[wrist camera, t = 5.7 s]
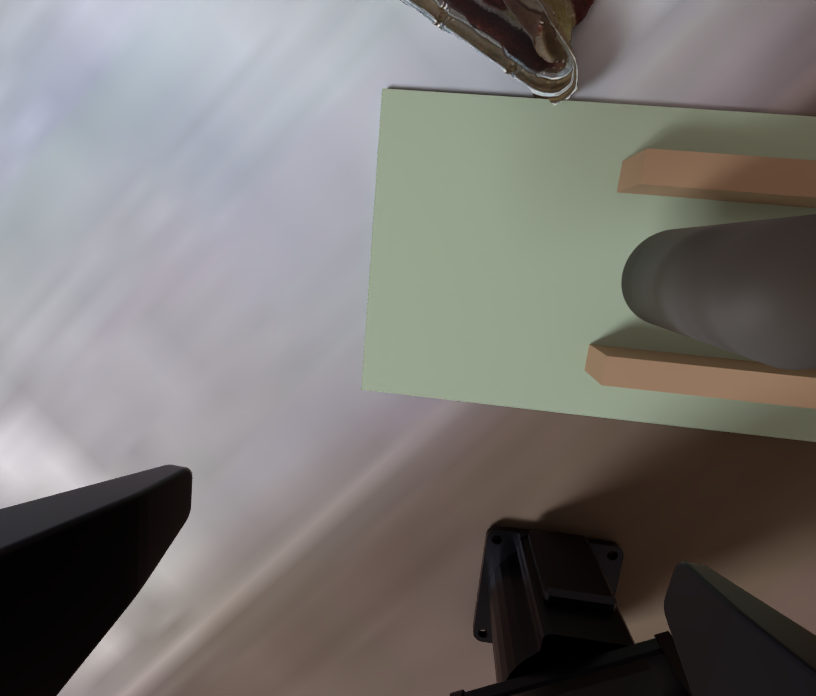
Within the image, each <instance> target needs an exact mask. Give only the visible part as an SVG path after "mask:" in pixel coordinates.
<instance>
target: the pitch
mask: <svg viewBox="0 0 816 696" xmlns="http://www.w3.org/2000/svg"><path fill="white" fill-rule="evenodd" d="M811 214H816V117H814V116H799V115H784V114H768V113H753V112H737V111H722V110H707V109H691V108H676V107H660V106H645V105H629V104H614V103H599V102H583V101H568V100H562V103H561V102H559V103H557V104H556V105H553V104H552V103H551V102H550V101H549V99H537V98H522V97H506V96H491V95H475V94H460V93H445V92H429V91H414V90H398V89H383V88H382V101H381V115H380V130H379V144H378V158H377V173H376V187H375V202H374V216H373V231H372V245H371V260H370V274H369V289H368V303H367V317H366V332H365V346H364V361H363V375H362V390H368V391H377V392H386V393H394V394H403V395H412V396H420V397H429V398H438V399H446V400H455V401H464V402H472V403H481V404H490V405H498V406H507V407H516V408H525V409H533V410H542V411H551V412H559V413H568V414H577V415H585V416H594V417H603V418H611V419H620V420H629V421H637V422H646V423H655V424H663V425H672V426H681V427H689V428H698V429H707V430H716V431H724V432H733V433H742V434H750V435H759V436H768V437H776V438H785V439H794V440H802V441H811V442H816V368H812V369H804V370H787V369H781V368H776V367H772V366H769V365H766V364H763V363H760V362H758V361H755V360H752V359H749V358H746V357H743V356H741V355H738V354H735V353H732V352H729V351H726V350H724V349H721V348H718V347H715V346H712V345H710V344H707V343H704V342H701V341H698V340H695V339H693V338H690V337H687V336H684V335H681V334H678V333H676V332H673V331H670V330H667V329H664V328H661V327H659V326H656V325H653V324H650V323H648V322H646V321H643V320H642V319H640V318H639V317H637V316H636V315H635V314H634V313H633V312H632V311H631V310H630V308H629V307H628V305H627V304H626V302H625V299H624V297H623V293H622V287H621V279H622V273H623V269H624V266H625V264H626V261H627V259H628V258H629V256H630V254H631V253H632V252H633V250H634V249H635V248H636V247H637V246H638V245H639V244H640V243H641V242H643V241H644V240H645V239H647V238H648V237H650V236H652V235H654V234H656V233H659V232H661V231H665V230H671V229H680V228H689V227H699V226H708V225H717V224H727V223H736V222H746V221H755V220H764V219H774V218H783V217H793V216H802V215H811Z"/></svg>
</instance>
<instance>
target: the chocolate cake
mask: <svg viewBox="0 0 816 696" xmlns="http://www.w3.org/2000/svg"><path fill="white" fill-rule="evenodd" d="M400 1H402V2H403V3H405V4H406V5H408V6H410V7H413V8H415V9H416V10H417V11H418V12H420V13H422V14H423V15H424V16H425V17H426V18H428V19H429V20H431V22H432V23H433V24H434V25H436V26H438V27H439V28H440V29H441V30H443V31H446V32H448V33H451V34H454V35H456V36H457V37H458V38H459V39H460V40H464V41H465V42H466V43H468V44H469V45H470V47H471V48H473V49H474V50H476V51H477V52H478V53H479V54H481V55H483V56H485V57H487V58H488V59H489V60H490V61H492V62H493V63H495V64H496V65H497V66H499V67H500V68H501V69H502V70H503V71H504V72H505V73H506V74H509V75H510V76H512V77H513V78H514V79H516V80H518V81H520V82H521V83H523V84H524V85H525V86H527V87H528V88H529V89H530V90H531V91H532V93H533V95H534V97H535V98H537V99H549V101H550V102H551V103H552V104H553V105H556V104H557V103H559V102H561V103H562V100H563V99H566V100H568V99H569V97H570V96H571V95H572V93H574V92H575V91H577V90H578V88H577V81H578V78H577V77H578V68H577V63H576V61H575V60H576V59H575V57H574V53H573V51H572V48H571V46H570V44H569V42H570V40H571V32H572V29H573V27H574V26H575V25H577V24H579V23H580V22H581V21H582V20H583V19H584V17H585V16H586V14H587V12H588V10H589V8H590V6H591V5H592V4H593V3H594V1H595V0H400Z"/></svg>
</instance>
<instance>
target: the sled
mask: <svg viewBox="0 0 816 696" xmlns="http://www.w3.org/2000/svg"><path fill="white" fill-rule="evenodd" d="M621 287H622V293H623V297H624V299H625V302H626V304H627V305H628V307H629V308H630V310H631V311H632V312H633V313H634V314H635V315H636V316H637V317H639V318H640V319H642V320H643V321H646V322H648V323H650V324H653V325H656V326H659V327H661V328H664V329H667V330H670V331H673V332H676V333H678V334H681V335H684V336H687V337H690V338H693V339H695V340H698V341H701V342H704V343H707V344H710V345H712V346H715V347H718V348H721V349H724V350H726V351H729V352H732V353H735V354H738V355H741V356H743V357H746V358H749V359H752V360H755V361H758V362H760V363H763V364H766V365H769V366H772V367H776V368H781V369H787V370H804V369H812V368H816V214H811V215H802V216H793V217H783V218H774V219H764V220H755V221H746V222H736V223H727V224H717V225H708V226H699V227H689V228H680V229H671V230H665V231H661V232H659V233H656V234H654V235H652V236H650V237H648V238H647V239H645V240H644V241H643V242H641V243H640V244H639V245H638V246H637V247H636V248H635V249H634V250H633V252H632V253H631V254H630V256H629V258H628V259H627V261H626V264H625V266H624V269H623V273H622V279H621Z"/></svg>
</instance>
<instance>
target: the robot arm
mask: <svg viewBox="0 0 816 696" xmlns="http://www.w3.org/2000/svg"><path fill="white" fill-rule="evenodd" d="M191 495H192V472H191V470H190V469H189V468H186V467H181V466H176V465H164V466H161V467H157V468H153V469H149V470H146V471H142V472H138V473H134V474H131V475H127V476H123V477H119V478H116V479H112V480H108V481H104V482H101V483H97V484H93V485H89V486H86V487H82V488H78V489H74V490H71V491H67V492H63V493H59V494H56V495H52V496H48V497H44V498H41V499H37V500H33V501H29V502H26V503H22V504H18V505H14V506H11V507H7V508H3V509H0V696H57V694H58V693H59V692H60V691H61V689H62V688H63V687H64V686H65V684H66V683H67V682H68V681H69V679H70V678H71V677H72V676H73V674H74V673H75V672H76V671H77V669H78V668H79V667H80V666H81V664H82V663H83V662H84V661H85V659H86V658H87V657H88V656H89V654H90V653H91V652H92V651H93V649H94V648H95V647H96V646H97V644H98V643H99V642H100V641H101V640H102V638H103V637H104V636H105V635H106V633H107V632H108V631H109V630H110V628H111V627H112V626H113V625H114V623H115V622H116V621H117V620H118V618H119V617H120V616H121V615H122V613H123V612H124V611H125V610H126V608H127V607H128V606H129V605H130V603H131V602H132V601H133V599H134V598H135V597H136V595H137V594H138V593H139V591H140V590H141V588H142V587H143V586H144V584H145V583H146V581H147V580H148V578H149V577H150V575H151V574H152V572H153V571H154V569H155V568H156V566H157V565H158V563H159V562H160V560H161V559H162V557H163V556H164V554H165V552H166V551H167V549H168V548H169V546H170V545H171V543H172V542H173V540H174V539H175V537H176V536H177V534H178V533H179V531H180V530H181V528H182V527H183V525H184V524H185V522H186V520H187V518H188V516H189V513H190V510H191ZM495 535H499V536H501V538H499V539H493V536H495ZM610 551H615V552H614V553H613V554H612V555H608V552H610ZM622 560H623V552H622V550H621V548H620V547H619V545H618V544H617V543H615V542H612V541H606V540H599V539H591V538H585V537H584V536H581V535H573V534H566V533H559V532H551V531H544V530H536V529H534V530H525V529H517V528H510V527H502V526H493V527H490V528H489V529H488V530H487V533H486V539H485V546H484V553H483V560H482V567H481V573H480V580H479V587H478V594H477V601H476V608H475V615H474V622H473V634H474V637H475V638H476V639H477V640H479V641H482V642H488V643H493V652H494V661H495V670H496V680H497V683H496V684H492V685H489V686H485V687H482V688H478V689H475V690H471V691H468V692H465V691H464V690H459V691H456V692H452V693H450V696H816V635H814V634H813V633H811V632H809V631H808V630H806V629H805V628H803V627H802V626H800V625H798V624H797V623H795V622H794V621H792V620H791V619H789V618H787V617H786V616H784V615H783V614H781V613H779V612H778V611H776V610H775V609H773V608H772V607H770V606H768V605H767V604H765V603H764V602H762V601H761V600H759V599H757V598H756V597H754V596H753V595H751V594H750V593H748V592H746V591H745V590H743V589H742V588H740V587H738V586H737V585H735V584H734V583H732V582H731V581H729V580H727V579H726V578H724V577H723V576H721V575H720V574H718V573H716V572H715V571H713V570H712V569H710V568H709V567H707V566H704V565H701V564H696V563H690V562H684V561H682V562H680V563H678V564H677V565H676V566H675V569H674V571H673V575H672V578H671V581H670V584H669V587H668V590H667V593H666V596H665V600H664V611H665V616H666V619H667V622H668V625H669V628H670V631H671V634H672V635H671V634H670V632H669V631H666V632H663V633H659V634H656V635H654V637H655V638H654V639H651V640H647V641H643V642H640V643H636V644H635V642H634V640H633V638H632V636H631V634H630V632H629V630H628V628H627V625H626V623H625V621H624V619H623V617H622V615H621V613H620V611H619V609H618V606H617V601H616V598H615V592H616V587H617V583H618V578H619V574H620V569H621V565H622ZM481 629H484V630H486V631H480V630H481Z"/></svg>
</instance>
